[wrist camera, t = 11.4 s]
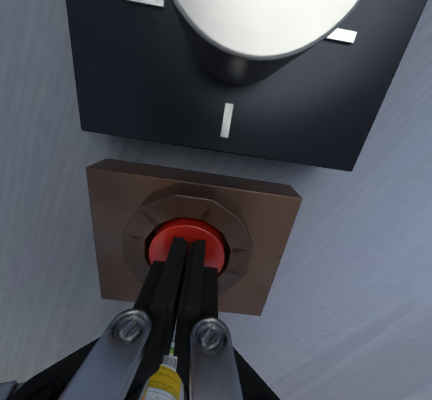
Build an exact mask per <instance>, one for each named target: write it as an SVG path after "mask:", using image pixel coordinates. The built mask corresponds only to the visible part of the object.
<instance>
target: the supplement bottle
mask: <svg viewBox="0 0 432 400" xmlns="http://www.w3.org/2000/svg"><path fill="white" fill-rule="evenodd" d="M174 343H175V342H173V341H172V344H171V349H170V354H169V356H166V355H164V359H163V363H162V364H160V368H159V370H158V371H157V372H156V373H155V374H154V375H152V376H151V377H150V378H149V382H148V385H147V388H146V390H145V393H144V396H143V398H142V400H179V394H180V386H181V379H180V377H179V376H178V374H177V373H176V365H177V357H176V356H173V353H174Z"/></svg>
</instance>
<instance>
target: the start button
mask: <svg viewBox="0 0 432 400" xmlns="http://www.w3.org/2000/svg"><path fill="white" fill-rule="evenodd" d="M174 237H182V238H185V241H188V250H187V259H186V266H187V262H188V257H189V252H190V247H191V242H196V239H198V240H206V249H205V260H204V266H205V267H213V268H218V273H219V272H220V270H221V268H222V266H223V264H224V258H225V256H224V236H223V233H222V232H220V231H219V230H217V229H216V228H214V227H213V226H211V225H210V224H209V223H207V222H206V221H204V220H199V219H192V218H184V217H178V218H175V219H172V220H169V221H166V222H163V223H161V224H160V226H159V228H158V230H157V232H156V234H155V236H154V238H153V240H152V242H151V244H150V247H149V258H150V262H151V265H152V263H153V261H154V260H156V261H164V262H165V261H166V258H167V256H168V253H169V250H170V247H171V244H172V241H173V238H174ZM185 271H186V268H185Z"/></svg>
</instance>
